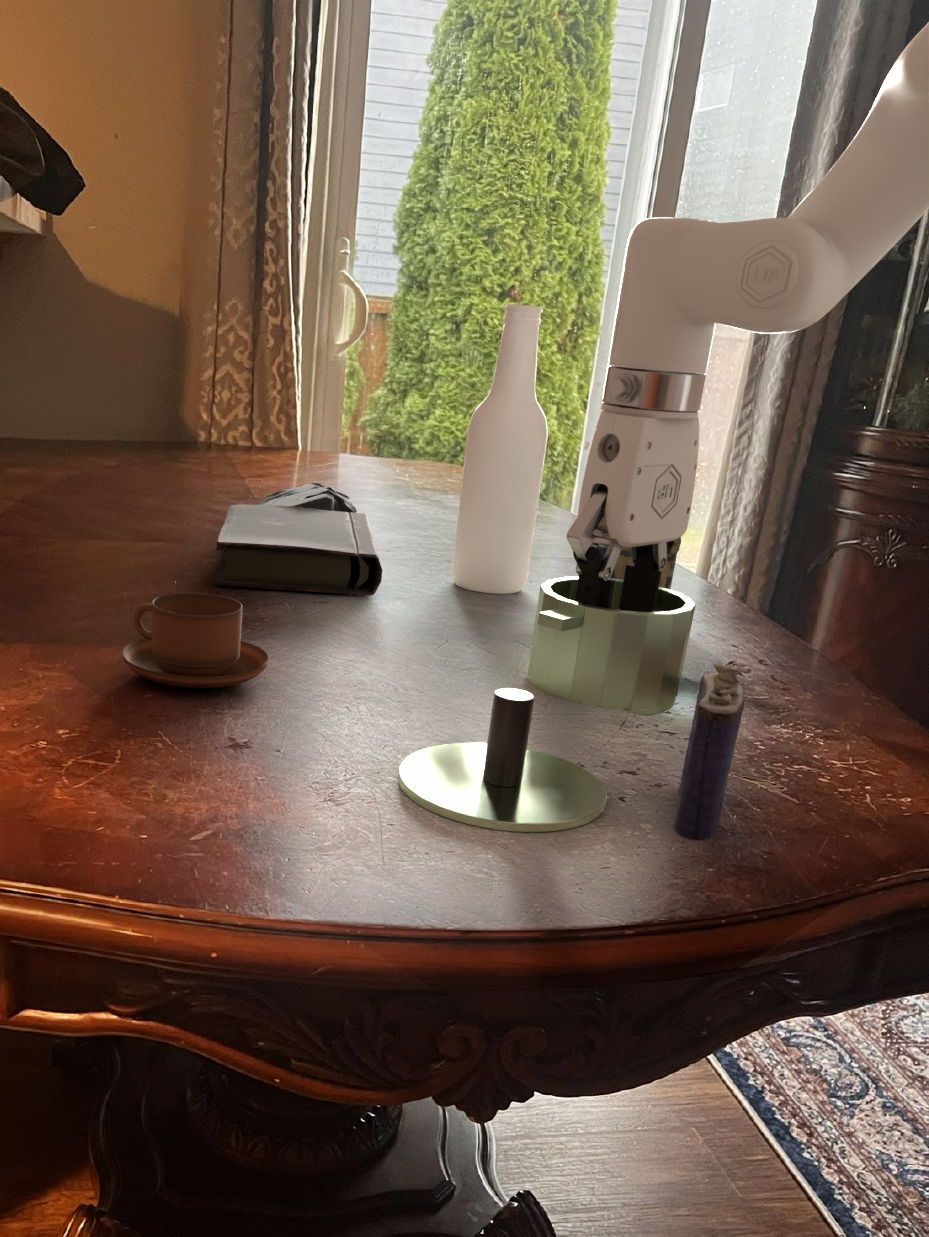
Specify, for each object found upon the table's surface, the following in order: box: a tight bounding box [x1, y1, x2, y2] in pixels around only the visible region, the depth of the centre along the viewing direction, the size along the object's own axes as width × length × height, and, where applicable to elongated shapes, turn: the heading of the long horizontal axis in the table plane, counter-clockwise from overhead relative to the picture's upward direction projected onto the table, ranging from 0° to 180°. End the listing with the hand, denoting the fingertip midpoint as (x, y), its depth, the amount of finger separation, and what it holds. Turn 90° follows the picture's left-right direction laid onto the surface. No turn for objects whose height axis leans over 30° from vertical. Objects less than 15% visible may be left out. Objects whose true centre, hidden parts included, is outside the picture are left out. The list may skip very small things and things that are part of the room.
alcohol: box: [450, 303, 549, 595], centre depth 130 cm, size 9×9×30 cm
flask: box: [674, 662, 748, 842], centre depth 75 cm, size 9×3×11 cm, turn 162°
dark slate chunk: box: [260, 482, 358, 513], centre depth 166 cm, size 15×22×5 cm
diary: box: [214, 504, 383, 596], centre depth 136 cm, size 19×25×5 cm
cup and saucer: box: [122, 592, 270, 689], centre depth 96 cm, size 12×12×6 cm
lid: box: [397, 687, 608, 833], centre depth 77 cm, size 14×14×7 cm
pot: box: [526, 576, 696, 716], centre depth 100 cm, size 13×18×8 cm
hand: (613, 617), depth 99 cm, fingers open, 6 cm apart
